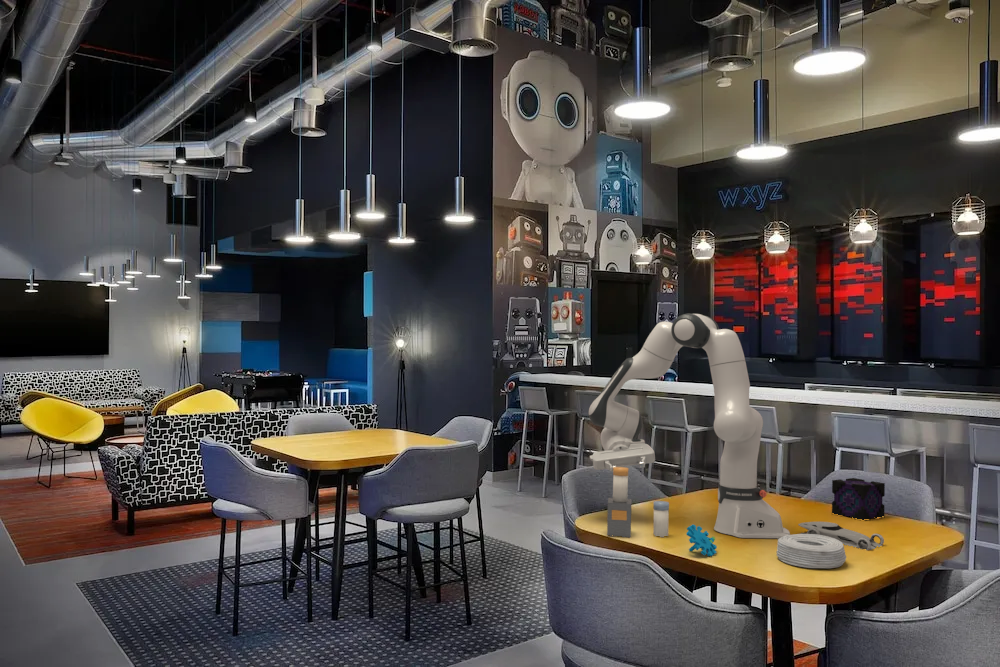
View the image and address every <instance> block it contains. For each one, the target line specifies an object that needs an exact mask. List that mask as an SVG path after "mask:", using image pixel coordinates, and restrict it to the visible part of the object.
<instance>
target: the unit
mask: <svg viewBox="0 0 1000 667" xmlns="http://www.w3.org/2000/svg"><path fill="white" fill-rule="evenodd" d="M606 519H607V522H606V524H607V525H606V527H607V528H606V529H607V530H606V536H607V535H610V536H609V537H614V536H622V537H621V538H630V537H631V538H632V528H631V527H632V499H631V498H627V502H615V501H613V497H608V500H607V517H606ZM612 535H613V536H612Z"/></svg>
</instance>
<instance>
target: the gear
mask: <svg viewBox="0 0 1000 667" xmlns="http://www.w3.org/2000/svg"><path fill="white" fill-rule="evenodd" d="M686 530H687V532H686V536H687V537H689V539H688V542H689V543H690V544H693V545H692V546H691V547H689V548H688V551H689V552H690V551H692V552H693V551H695V550H696V551H698V550H700V549H701V551H700V553H701V555H703V556H706V555H707V557H709V556H711V557H713V556H714V555H716V554H717V545H716V544H714V542H715V540H716V537H715V536H712V537H709V534H710V533H709V532H708V531H707V530H705V531H704V532H702V530H703V527H701V526H700V525H698V526H696V525H695V524H693V523H692V524H691V525H689V526H688V527H687V528H686Z"/></svg>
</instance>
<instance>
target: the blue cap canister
mask: <svg viewBox="0 0 1000 667" xmlns="http://www.w3.org/2000/svg"><path fill="white" fill-rule="evenodd" d="M669 509H670V502H669V501H665V500H655V501H653V533H652V534H654V535H655V536H654V535H653V536H654V537H656V536H660V537H659V538H665V537H664V536H668V537H669V511H670V510H669Z"/></svg>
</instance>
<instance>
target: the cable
mask: <svg viewBox="0 0 1000 667" xmlns="http://www.w3.org/2000/svg"><path fill="white" fill-rule="evenodd" d="M776 544H777V547H776V549H777V550H776V557H778V560H780V561H781V562H783V563H786V564H787V565H791V566H794V567H795V566H796V567H800V568H805V569H807V568H808V569H834V568H836V569H837V568H839V567H841V566H843V565H844V564H845V562H846V560H847V555H846V550H845V545H843V543H842V542H841V541H839V540H837V539H834V538H831V537H828V536H823V535H817V534H800V533H797V534H794V533H793V534H790V535H787V536H783V537H781V538H777V543H776Z"/></svg>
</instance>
